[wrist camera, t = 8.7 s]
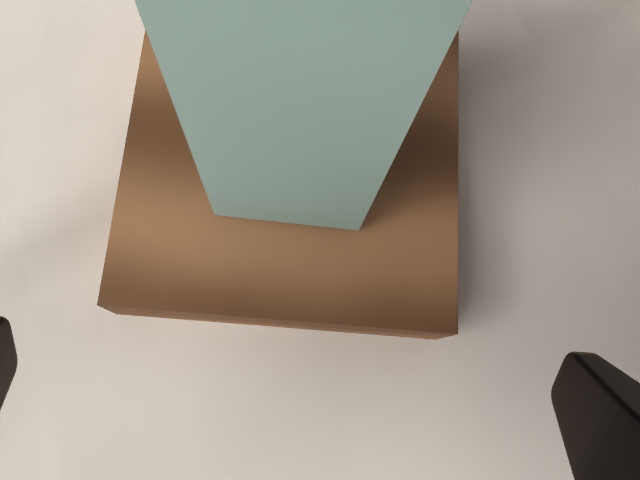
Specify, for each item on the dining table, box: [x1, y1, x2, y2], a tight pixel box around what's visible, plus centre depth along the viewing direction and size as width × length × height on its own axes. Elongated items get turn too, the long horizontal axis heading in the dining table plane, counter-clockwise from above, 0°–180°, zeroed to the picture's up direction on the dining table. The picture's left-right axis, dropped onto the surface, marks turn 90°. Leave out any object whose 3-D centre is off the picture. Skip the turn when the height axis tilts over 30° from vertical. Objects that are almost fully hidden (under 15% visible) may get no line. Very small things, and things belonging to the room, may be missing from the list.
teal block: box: [135, 0, 472, 230], centre depth 13 cm, size 5×5×13 cm
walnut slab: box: [97, 29, 458, 339], centre depth 21 cm, size 12×12×3 cm
